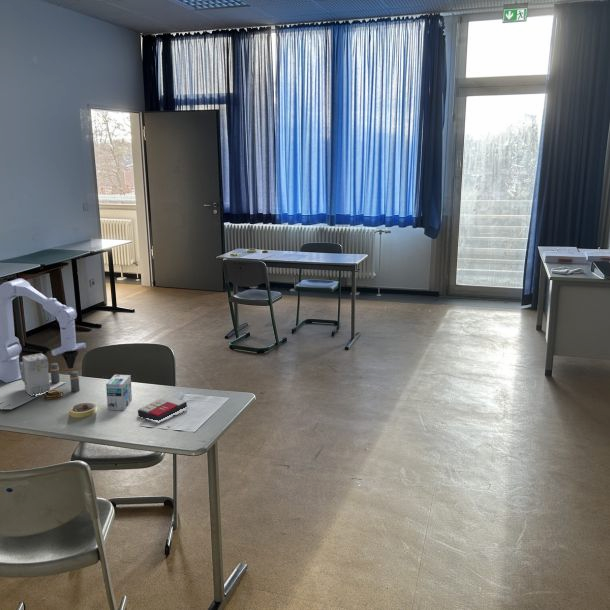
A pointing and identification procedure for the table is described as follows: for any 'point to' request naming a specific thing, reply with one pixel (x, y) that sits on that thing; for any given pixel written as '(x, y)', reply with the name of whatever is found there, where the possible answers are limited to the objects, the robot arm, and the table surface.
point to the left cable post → (54, 373)
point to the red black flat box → (161, 408)
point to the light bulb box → (119, 392)
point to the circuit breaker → (35, 373)
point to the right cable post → (74, 381)
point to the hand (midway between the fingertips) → (70, 367)
